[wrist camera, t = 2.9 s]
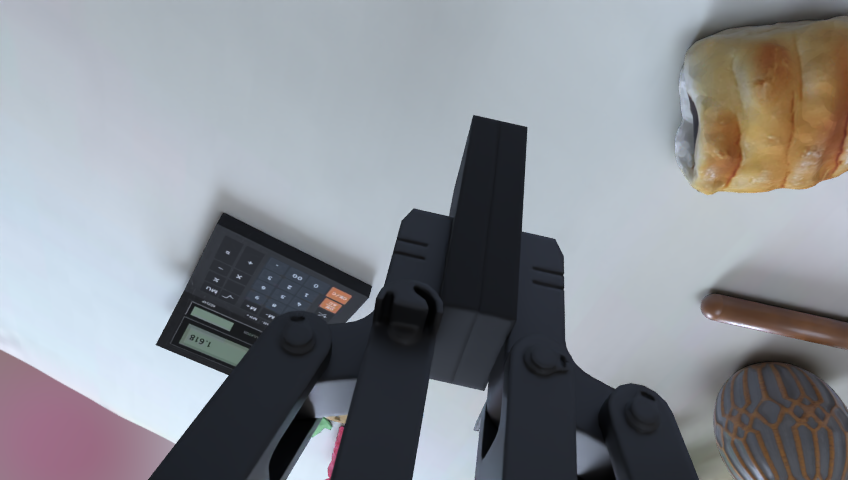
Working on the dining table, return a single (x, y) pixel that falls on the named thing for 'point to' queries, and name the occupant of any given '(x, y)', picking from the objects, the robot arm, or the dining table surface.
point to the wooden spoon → (776, 320)
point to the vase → (781, 425)
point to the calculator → (252, 295)
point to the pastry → (765, 107)
